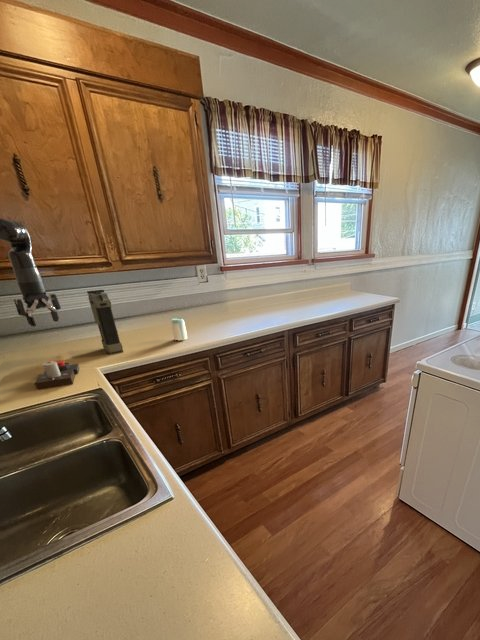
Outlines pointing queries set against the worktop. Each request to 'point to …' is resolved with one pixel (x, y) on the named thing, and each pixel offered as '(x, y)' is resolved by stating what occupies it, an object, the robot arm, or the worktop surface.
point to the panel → (55, 380)
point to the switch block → (68, 368)
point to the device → (105, 321)
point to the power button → (60, 363)
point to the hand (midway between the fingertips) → (45, 323)
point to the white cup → (52, 369)
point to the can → (179, 329)
